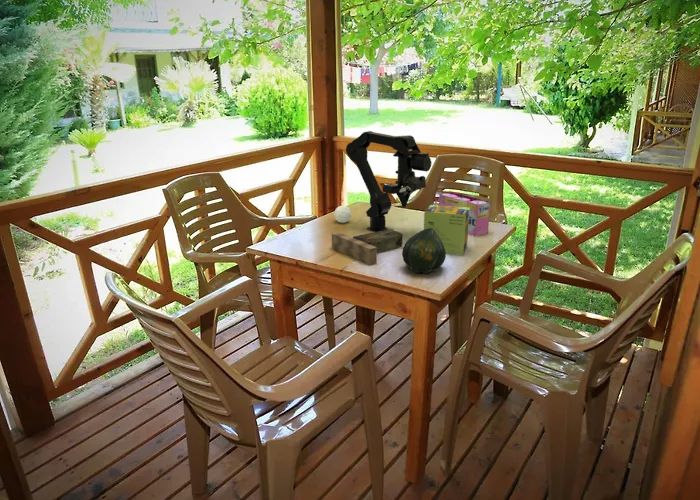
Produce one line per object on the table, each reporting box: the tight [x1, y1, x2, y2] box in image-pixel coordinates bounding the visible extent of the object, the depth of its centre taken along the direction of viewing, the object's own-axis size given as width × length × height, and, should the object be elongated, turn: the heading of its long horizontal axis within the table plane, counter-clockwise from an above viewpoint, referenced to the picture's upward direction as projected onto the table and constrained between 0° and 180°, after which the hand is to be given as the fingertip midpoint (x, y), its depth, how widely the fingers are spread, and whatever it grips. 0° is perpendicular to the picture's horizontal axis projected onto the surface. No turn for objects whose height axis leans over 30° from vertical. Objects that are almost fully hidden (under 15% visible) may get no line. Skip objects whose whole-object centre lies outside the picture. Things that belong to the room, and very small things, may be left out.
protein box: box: [423, 204, 470, 256], centre depth 187 cm, size 10×15×16 cm
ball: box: [333, 205, 352, 224], centre depth 223 cm, size 8×8×8 cm
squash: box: [401, 228, 447, 274], centre depth 169 cm, size 14×15×15 cm
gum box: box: [438, 191, 491, 237], centre depth 211 cm, size 24×8×14 cm, turn 34°
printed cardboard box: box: [352, 228, 403, 254], centre depth 189 cm, size 8×19×6 cm, turn 122°
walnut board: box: [331, 231, 378, 266], centre depth 183 cm, size 23×3×6 cm, turn 37°
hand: (404, 207), depth 201 cm, fingers closed
